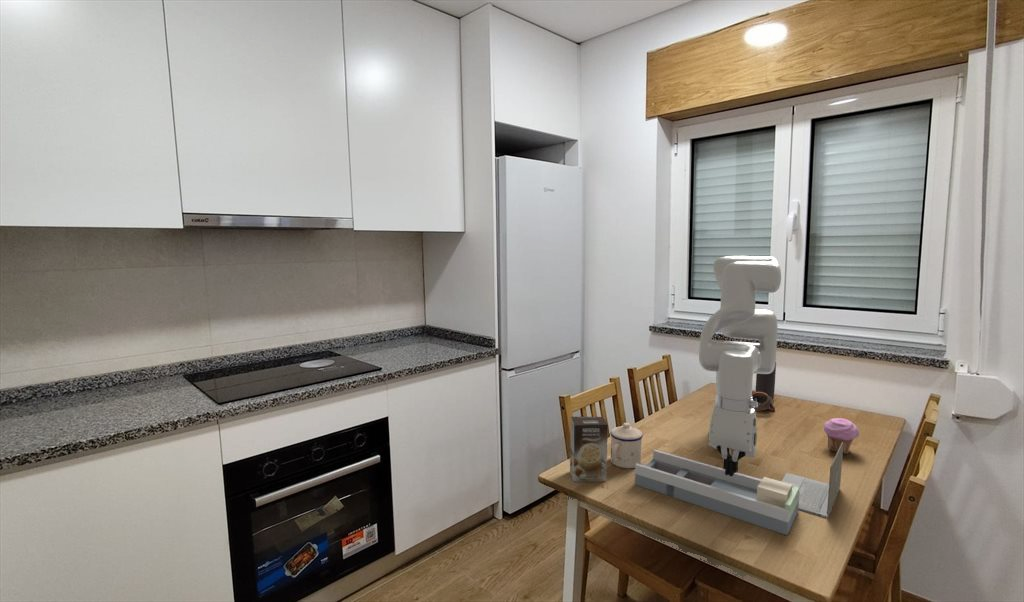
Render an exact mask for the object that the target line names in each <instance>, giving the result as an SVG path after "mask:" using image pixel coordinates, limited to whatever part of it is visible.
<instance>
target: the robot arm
mask: <svg viewBox="0 0 1024 602" xmlns="http://www.w3.org/2000/svg"><path fill="white" fill-rule="evenodd" d="M713 273H714V277H715V280H716V283H717V284H718V287H719V289H720V308H719V309H718V310H717V311H716V312H715V313H713V314H712V315H711V316H710V317H709V318H708V319H707V321H705V324H704V325H703V327H702V330H701V332H700V339H699V341H700V342H699V350H698V361H699V365H700V366H701V368H703V370H705V371H708V372H714V373H716V375H715V377H716V379H715V380H716V381H715V399H714V401H715V402H714V405H713V408H712V412H711V415H710V416H711V417H710V421H709V428H708V429H709V430H708V444H707V445H708V446H710V447H712V449H713V448H714V449H715V450H717V451H718V453H719V454H720V455H721V458H722V459H723V462H722V463H723V465H722V466H723V468H722V469H725V475H730V476H731V477H732V476H733V475H734V473H738V471H739V470H738V469H739V460H741V459H743V458H744V457H746V458H754V457H755V456H756V454H757V453H756V448H755V447H756V446H757V442H758V440H757V439H758V432H757V431H758V430H757V429H758V428H757V427H758V426H757V416H756V411H755V410H754V409H753V408H754V407H756V408H757V407H758V402H755V401H753V399H752V391H753V381H754V380H753V378H754V374H770V373H772V372H773V370H774V368H775V362H776V360H777V348H778V347H777V345H778V344H777V343H778V319H777V315H776V314H775V312H773V311H771V310H769V309H762V308H761V309H759V308H756V293H769V294H770V293H772V294H773V293H776V292H777V291H778V290H779V289H780V287H781V284H782V270H781V266H780V264H779V261H778V259H777V258H776V257H774V256H759V255H757V256H756V255H755V256H754V255H751V256H749V255H727V256H721V257H717V258H716V259H715V260H714V262H713ZM719 331H721V333H722V335H723V336H724V337H726V338H732V339H738V340H739V339H740V340H753V341H754V340H755V341H758V342H746V341H734V340H733V341H731V340H727V341H726V340H725V341H722V342H721V341H720V342H719V341H712V339H713V336H714V335H715V334H716V333H717V332H719ZM776 363H777V362H776ZM752 407H753V408H752ZM731 450H733V454H731Z"/></svg>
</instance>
